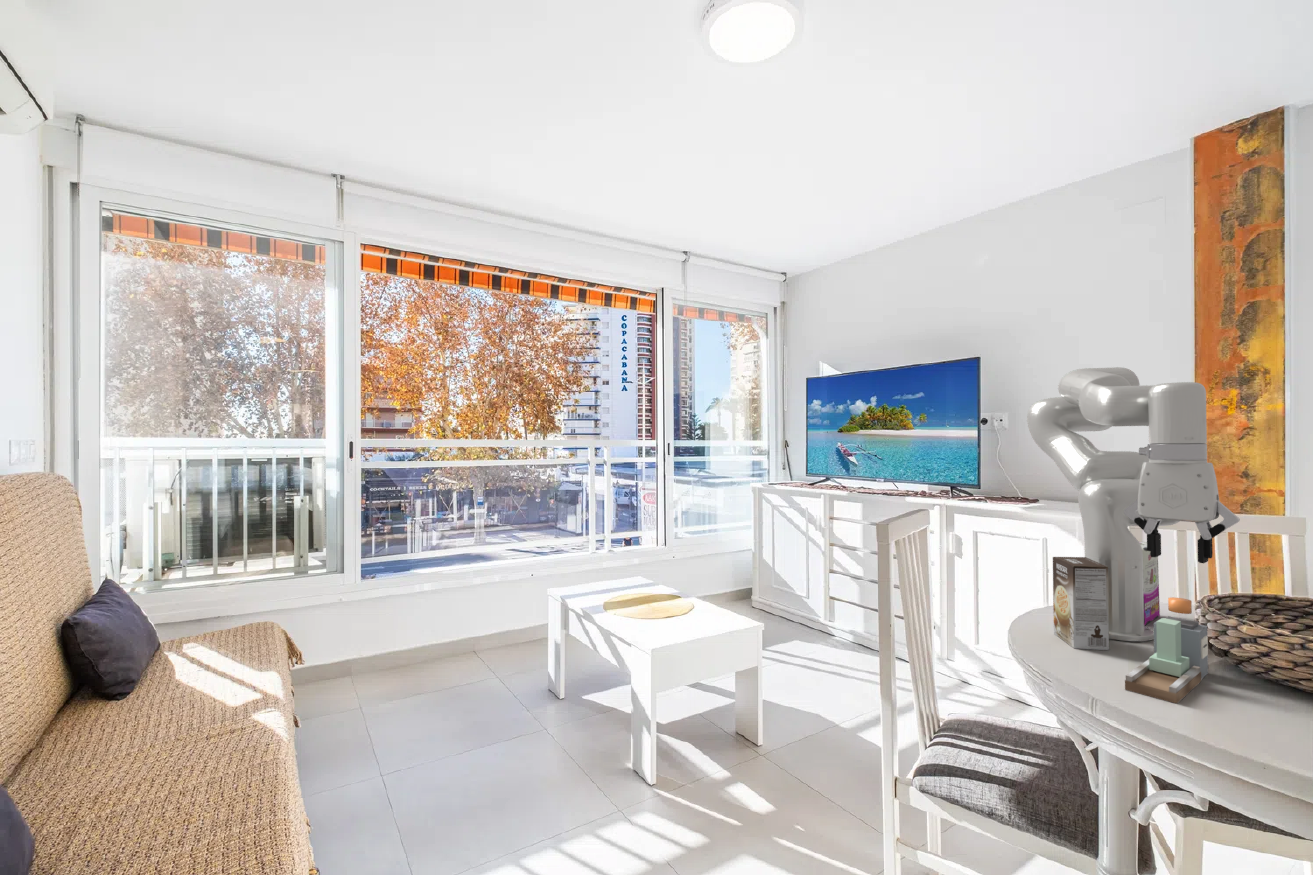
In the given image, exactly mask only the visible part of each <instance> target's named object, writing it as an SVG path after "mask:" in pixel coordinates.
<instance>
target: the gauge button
mask: <svg viewBox="0 0 1313 875" xmlns="http://www.w3.org/2000/svg"><path fill="white" fill-rule="evenodd" d="M1167 602H1168V603H1167V604H1168V611H1170V612H1172V613H1176V614H1184V615H1190V614H1192V613H1193V612H1192V611H1193V610H1192V609H1193V608H1192V606H1193V604H1192V600H1191V599H1188V598H1183V597H1175V596H1174V597H1172V596H1170V597H1168V600H1167Z"/></svg>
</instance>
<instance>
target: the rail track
mask: <svg viewBox="0 0 1313 875" xmlns="http://www.w3.org/2000/svg"><path fill="white" fill-rule="evenodd" d="M1201 682H1202V679H1201V672H1200V667H1198V666H1193V667H1192V668H1190V669H1189V670H1188V671H1187V672H1186V673H1185V674H1183V675H1182V676H1181V677H1178V676H1174V675H1170V674H1166V673H1162V672H1157V671H1153V670H1149V658H1148V659H1147V660H1145V661H1144V662H1143V663H1141V664H1139V665H1138V666H1137V667H1135V668H1134V669H1132V670H1131V671H1130V672H1128V673H1127V674H1126V675H1125V679H1124V690H1125V691H1128V692H1133V693H1137V694H1141V695H1144V696H1147V697H1151V698H1155V699H1158V700H1162V701H1166V702H1168V703H1173V704H1177V705H1178V703H1180V702H1181V701H1183V700H1182V699H1184V698H1185V697H1186V696H1187V695H1188V694H1189V693H1190V692H1191V691H1193V689H1194V688H1196V686H1198V685H1199V684H1200V683H1201Z"/></svg>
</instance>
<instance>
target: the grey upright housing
mask: <svg viewBox="0 0 1313 875" xmlns="http://www.w3.org/2000/svg"><path fill="white" fill-rule="evenodd" d="M1165 618H1166V619H1171V620H1176V621H1181V656H1184V657H1188V658H1189V669H1190V668H1192V667H1193V666H1198V667H1200V672H1201V680H1203V679H1204V678H1205V677H1206V676H1207V675H1208V674H1209V642H1208V640H1209V639H1208V638H1209V637H1208V626H1207V625H1202V624H1200V622H1199V621H1197V620H1190V619H1186V618H1181V617H1175V616H1167V617H1165ZM1153 632H1154V638H1153V654H1155V653H1156V652H1157V629H1156V621H1154V622H1153Z"/></svg>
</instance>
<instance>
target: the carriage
mask: <svg viewBox="0 0 1313 875" xmlns="http://www.w3.org/2000/svg"><path fill="white" fill-rule="evenodd" d="M1166 618H1167V617H1162V618H1160V619H1157V620H1156V621H1155V622H1156V629H1157V652H1156V653H1155V654H1154V653H1153V654H1152V655H1151V656H1149V657H1148V659H1149V670H1153V671H1157V672H1162V673H1166V674H1170V675H1174V676H1178V677H1181V676H1182V675H1183V674H1185V673H1186V672H1187V671H1188V670H1189V658H1188V657H1184V656H1181V621H1176V620H1171V619H1166Z"/></svg>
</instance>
